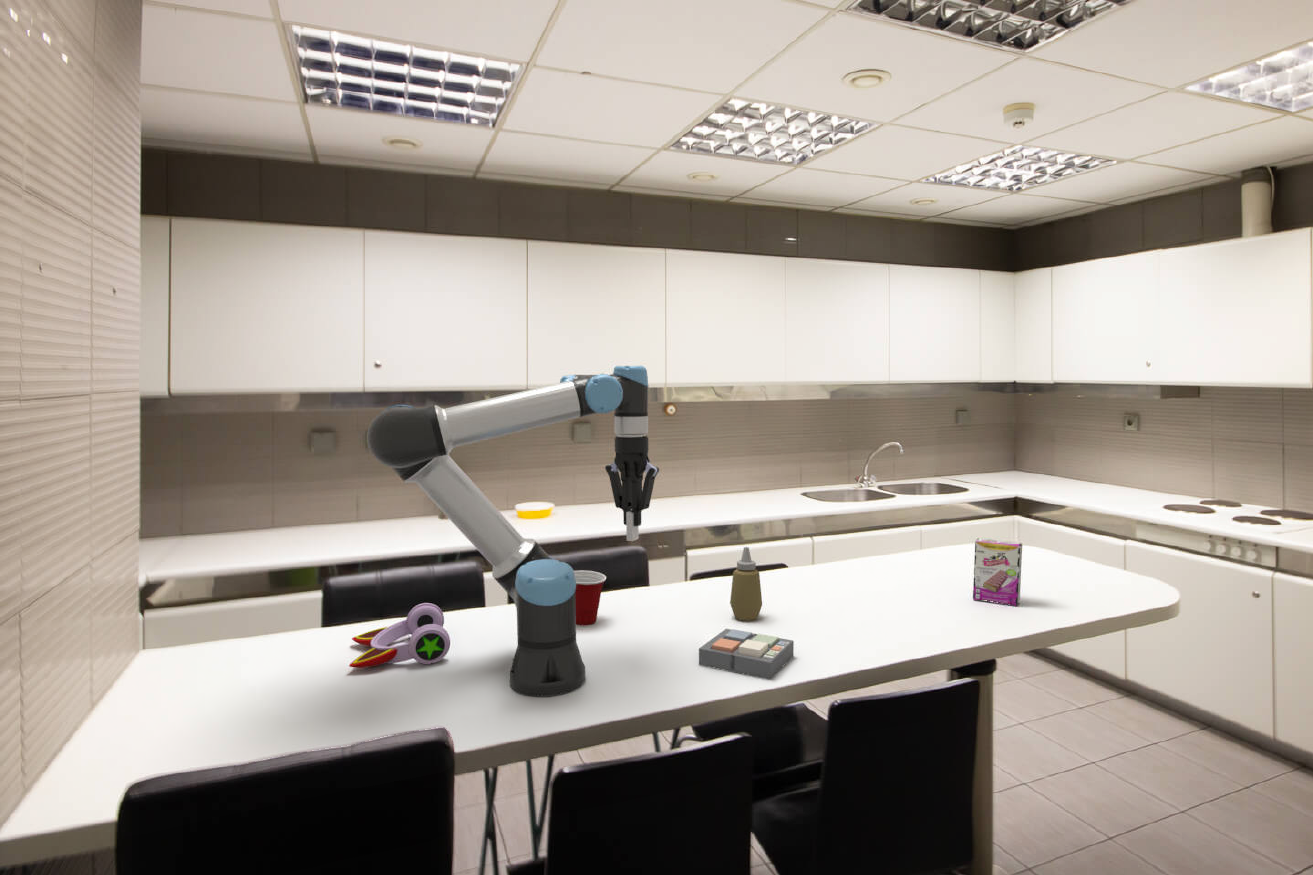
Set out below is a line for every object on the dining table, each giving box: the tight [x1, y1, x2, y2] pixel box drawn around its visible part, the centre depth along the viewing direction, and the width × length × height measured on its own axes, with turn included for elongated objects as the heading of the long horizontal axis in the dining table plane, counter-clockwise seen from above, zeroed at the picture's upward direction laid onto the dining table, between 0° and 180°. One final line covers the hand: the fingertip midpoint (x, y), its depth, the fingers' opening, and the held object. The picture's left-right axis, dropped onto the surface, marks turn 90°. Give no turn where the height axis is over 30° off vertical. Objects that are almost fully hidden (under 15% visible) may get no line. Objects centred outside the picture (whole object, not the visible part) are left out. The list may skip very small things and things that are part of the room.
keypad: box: [698, 628, 795, 680], centre depth 157 cm, size 14×16×4 cm
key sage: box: [752, 633, 779, 648], centre depth 158 cm, size 5×5×3 cm
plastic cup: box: [574, 569, 607, 627], centre depth 182 cm, size 11×11×12 cm
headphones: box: [348, 602, 451, 669], centre depth 163 cm, size 20×10×20 cm
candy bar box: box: [972, 537, 1023, 607], centre depth 196 cm, size 11×5×16 cm, turn 58°
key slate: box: [724, 628, 753, 643], centre depth 161 cm, size 5×5×3 cm
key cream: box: [739, 639, 768, 658], centre depth 153 cm, size 5×5×3 cm
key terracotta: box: [712, 638, 740, 653], centre depth 156 cm, size 5×5×3 cm
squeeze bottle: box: [729, 546, 763, 622], centre depth 184 cm, size 8×8×18 cm
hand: (632, 539), depth 164 cm, fingers closed
